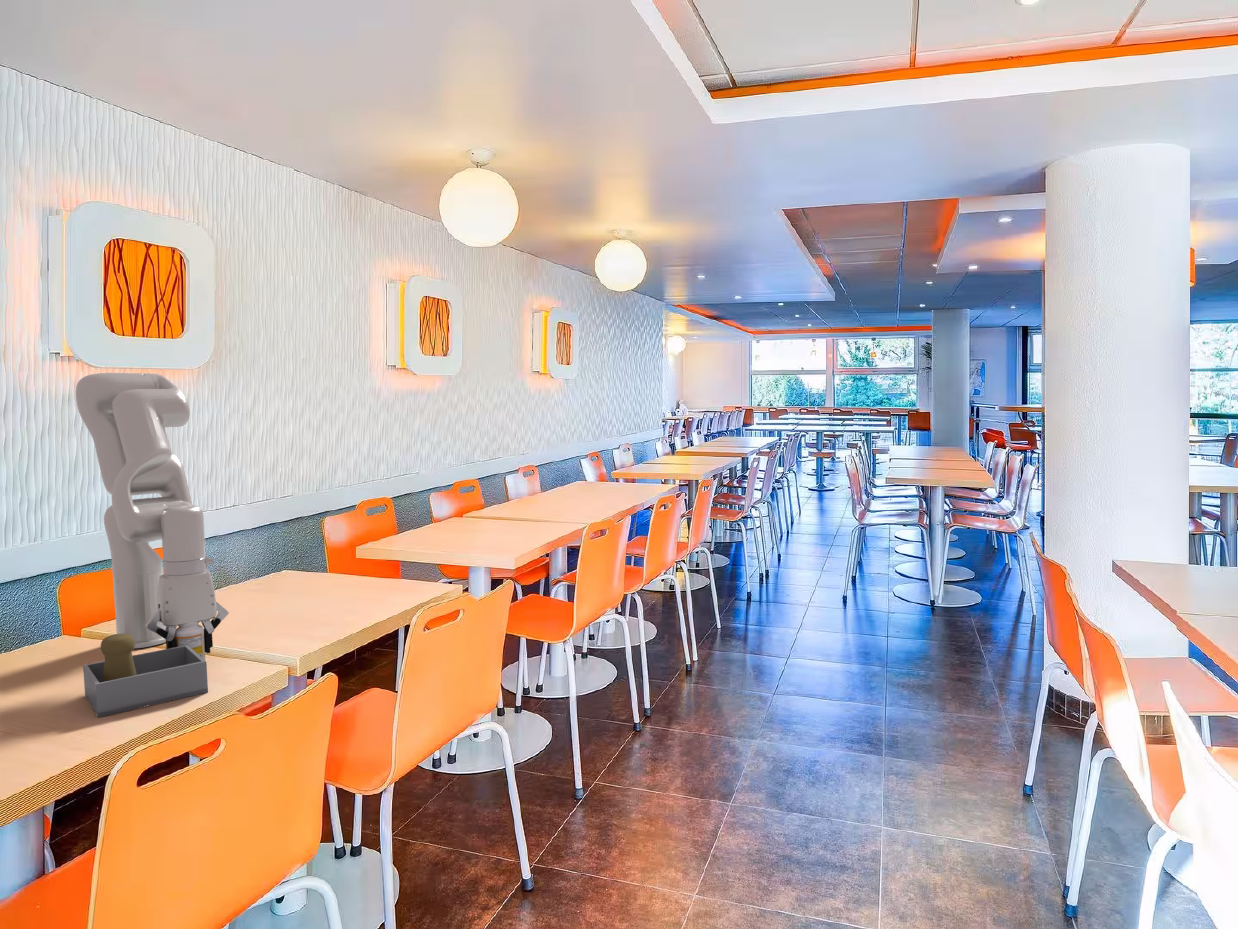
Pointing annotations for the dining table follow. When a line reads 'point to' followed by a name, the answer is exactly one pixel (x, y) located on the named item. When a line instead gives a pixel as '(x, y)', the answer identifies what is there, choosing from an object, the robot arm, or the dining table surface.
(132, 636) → the robot arm
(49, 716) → the dining table surface
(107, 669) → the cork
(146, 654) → the tote
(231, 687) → the dining table surface
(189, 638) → the supplement bottle
